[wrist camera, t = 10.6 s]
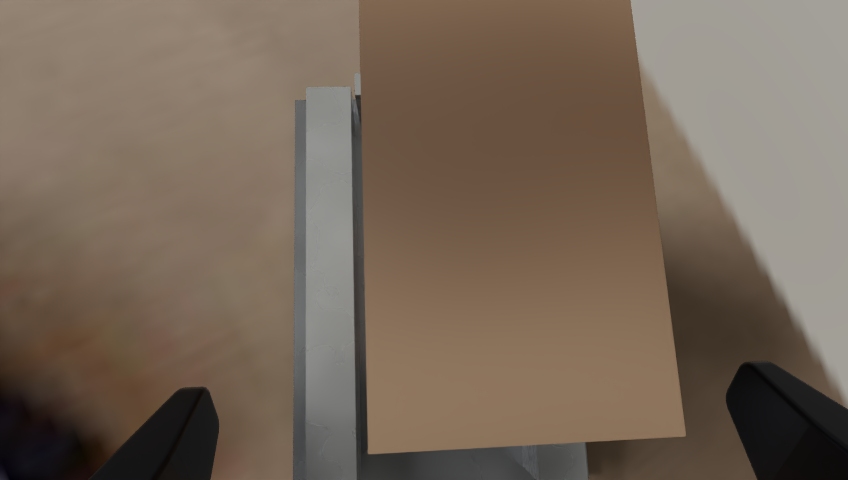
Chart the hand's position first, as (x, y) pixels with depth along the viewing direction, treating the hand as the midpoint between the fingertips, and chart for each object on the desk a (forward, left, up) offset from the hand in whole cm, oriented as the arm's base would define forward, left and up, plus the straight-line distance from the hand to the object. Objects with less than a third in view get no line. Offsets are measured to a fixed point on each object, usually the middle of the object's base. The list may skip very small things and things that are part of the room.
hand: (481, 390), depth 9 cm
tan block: (+3, +1, -9) cm, 10 cm away
